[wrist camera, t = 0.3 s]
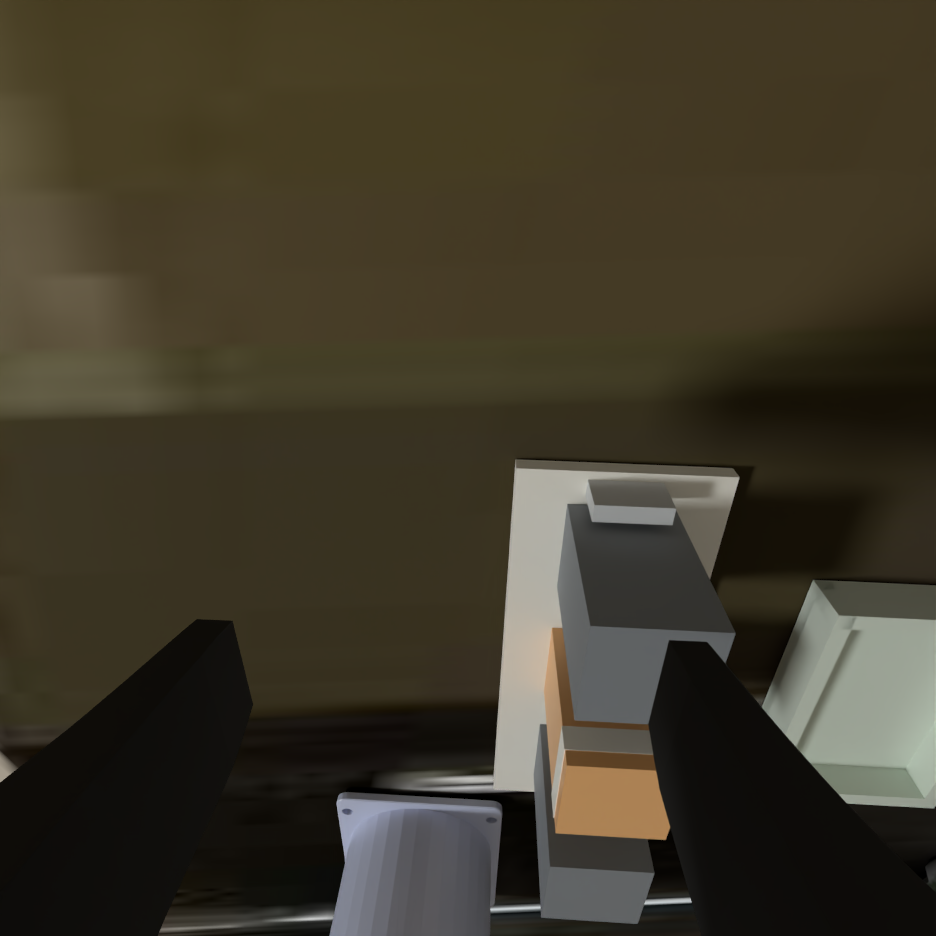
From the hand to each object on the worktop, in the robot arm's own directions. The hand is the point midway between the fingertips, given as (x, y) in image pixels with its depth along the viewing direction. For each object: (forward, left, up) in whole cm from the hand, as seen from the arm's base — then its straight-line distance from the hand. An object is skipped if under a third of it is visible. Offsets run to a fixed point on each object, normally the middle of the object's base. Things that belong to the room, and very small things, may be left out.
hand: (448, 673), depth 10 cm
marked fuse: (-10, -5, -9) cm, 14 cm away
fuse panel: (-10, -5, -10) cm, 15 cm away
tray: (-11, -16, -10) cm, 22 cm away
